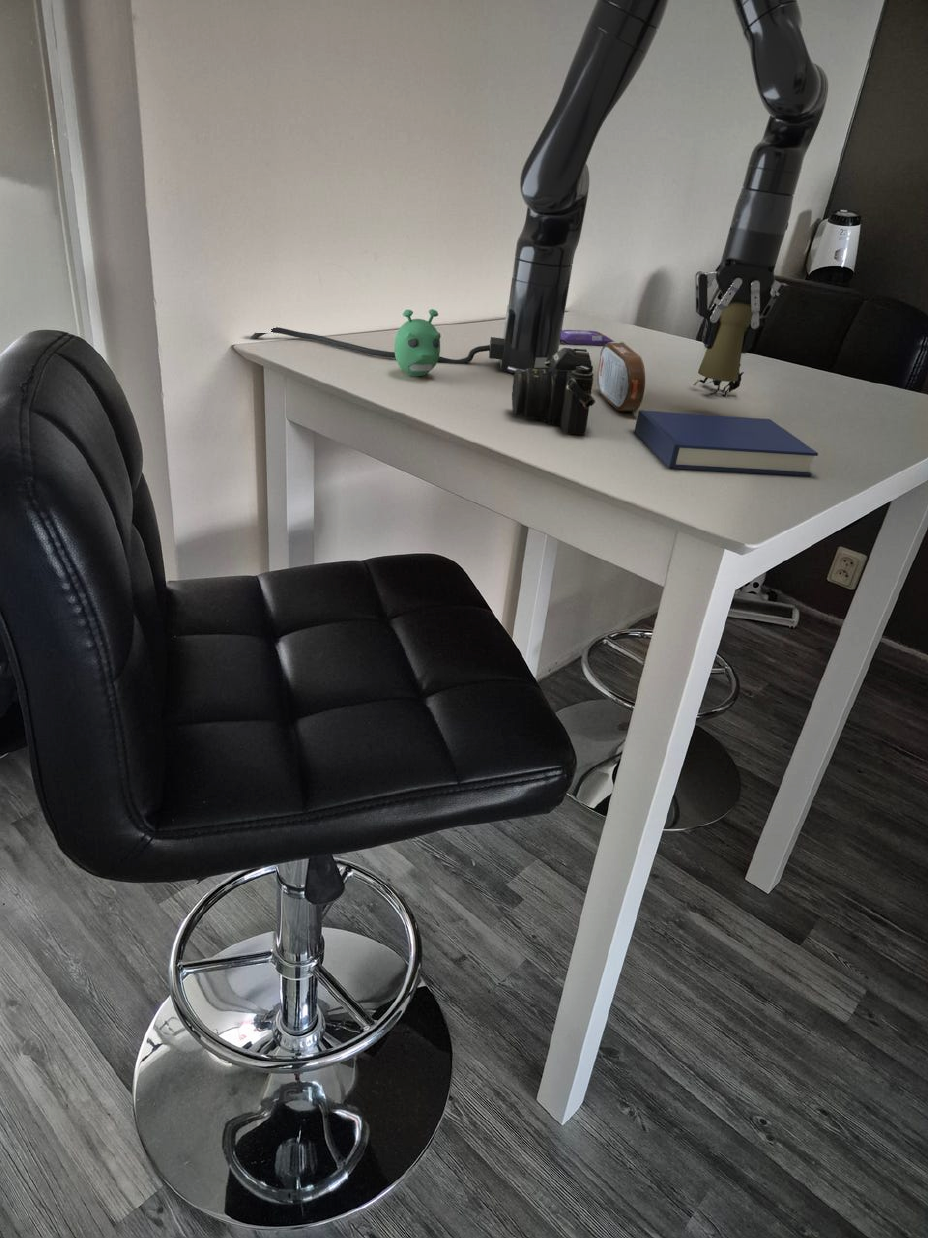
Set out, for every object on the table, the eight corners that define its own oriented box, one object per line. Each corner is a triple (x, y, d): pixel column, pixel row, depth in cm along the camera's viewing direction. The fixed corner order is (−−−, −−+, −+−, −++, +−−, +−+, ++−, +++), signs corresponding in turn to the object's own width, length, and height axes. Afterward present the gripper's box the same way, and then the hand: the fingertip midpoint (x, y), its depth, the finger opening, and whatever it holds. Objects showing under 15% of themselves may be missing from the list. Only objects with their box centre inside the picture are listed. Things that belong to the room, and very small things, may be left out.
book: (668, 468, 112) (674, 444, 110) (633, 432, 124) (638, 409, 122) (810, 476, 116) (818, 453, 114) (763, 440, 128) (770, 418, 126)
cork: (713, 381, 130) (734, 304, 124) (689, 369, 135) (708, 294, 129) (745, 381, 132) (767, 306, 127) (720, 370, 137) (741, 296, 132)
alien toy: (403, 383, 132) (408, 314, 127) (386, 369, 138) (390, 302, 133) (446, 383, 135) (453, 315, 130) (427, 369, 141) (433, 304, 136)
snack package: (562, 334, 166) (551, 328, 170) (560, 344, 167) (550, 338, 171) (616, 336, 170) (604, 330, 174) (614, 346, 171) (602, 340, 175)
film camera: (486, 398, 130) (495, 329, 125) (560, 399, 134) (572, 332, 129) (536, 440, 116) (548, 364, 111) (617, 439, 120) (633, 366, 115)
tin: (640, 419, 130) (652, 362, 126) (620, 418, 129) (632, 360, 125) (609, 389, 143) (619, 336, 138) (590, 388, 142) (600, 335, 138)
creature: (694, 401, 146) (744, 399, 145) (694, 369, 144) (745, 365, 142) (692, 389, 153) (740, 387, 151) (692, 358, 151) (741, 355, 149)
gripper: (799, 230, 127) (764, 350, 135) (702, 216, 126) (673, 337, 134) (816, 237, 120) (778, 362, 129) (714, 222, 119) (682, 349, 128)
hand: (724, 349), depth 132 cm, fingers closed on cork, 4 cm apart
